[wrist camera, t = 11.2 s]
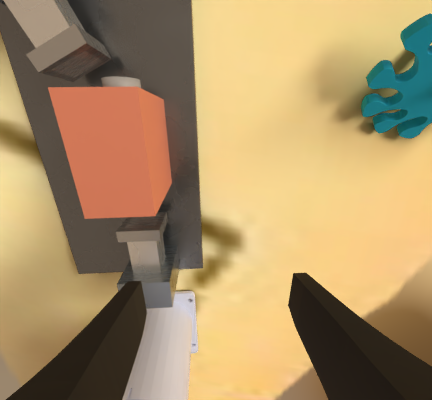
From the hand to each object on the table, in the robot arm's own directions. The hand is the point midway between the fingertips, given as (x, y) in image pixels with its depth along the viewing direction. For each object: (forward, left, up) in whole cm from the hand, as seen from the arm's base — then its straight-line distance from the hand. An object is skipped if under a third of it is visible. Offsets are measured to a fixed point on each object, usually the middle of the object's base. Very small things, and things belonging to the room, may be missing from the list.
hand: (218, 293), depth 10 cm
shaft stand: (+7, +7, -9) cm, 13 cm away
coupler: (+6, +5, -8) cm, 11 cm away
